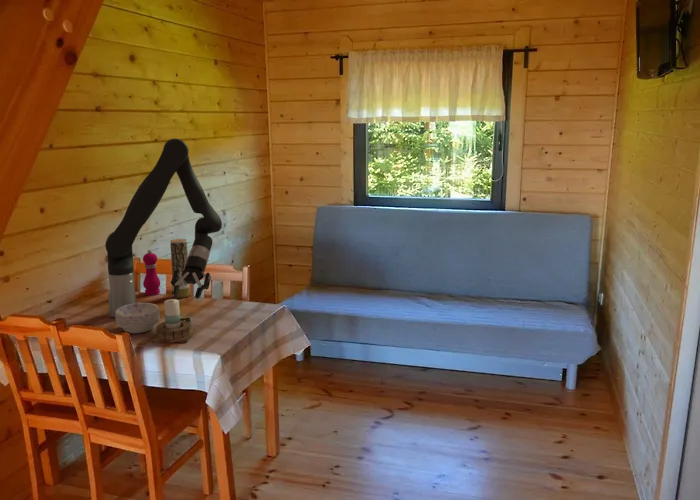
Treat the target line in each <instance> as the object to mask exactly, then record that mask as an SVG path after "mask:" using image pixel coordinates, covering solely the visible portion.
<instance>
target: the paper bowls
mask: <svg viewBox="0 0 700 500" xmlns="http://www.w3.org/2000/svg"><path fill="white" fill-rule="evenodd" d="M160 314H161V313H160V307H159V306H158V304H154V303H151V302H136V303H134V304H129V305H125V306H122V307H120V308H118V309H117V310H116V311H115V315H116V318H115V324H116V326H117V327H118V328H121V329H123V332H126V331H127V332H126V333H128V332H129V333H128V334H142V333H146V332H149V331H150V330H152V329H154V327H155V324H157V323H158V322H160V320H161V317H160V316H161V315H160Z"/></svg>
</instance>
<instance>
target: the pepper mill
mask: <svg viewBox="0 0 700 500" xmlns="http://www.w3.org/2000/svg"><path fill="white" fill-rule="evenodd" d="M142 261H143V263H144V268H145V277H144V278H143V283H142V286H143V287H144V288H145V290H144V294H145V296H156V295H159V294H160V293H161V290H160V287H161V279H160V278H159V276H158V274H157V262H158V256H157V255H156V253H153V250H151V249H147V253H145V254H144V255H143V257H142Z"/></svg>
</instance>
